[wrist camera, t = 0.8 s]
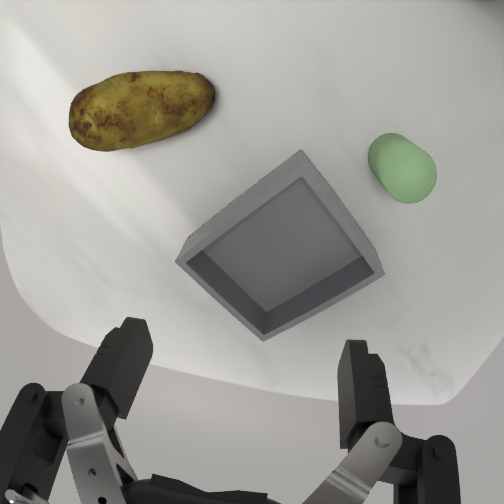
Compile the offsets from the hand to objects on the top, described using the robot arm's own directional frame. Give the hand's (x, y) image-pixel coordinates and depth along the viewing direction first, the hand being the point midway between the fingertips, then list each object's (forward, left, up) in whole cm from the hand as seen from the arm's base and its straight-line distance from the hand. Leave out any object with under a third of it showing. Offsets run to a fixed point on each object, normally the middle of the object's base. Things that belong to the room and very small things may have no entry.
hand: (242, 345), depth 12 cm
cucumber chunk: (-11, +6, -23) cm, 26 cm away
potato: (+4, -13, -23) cm, 27 cm away
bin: (+4, +7, -23) cm, 24 cm away
